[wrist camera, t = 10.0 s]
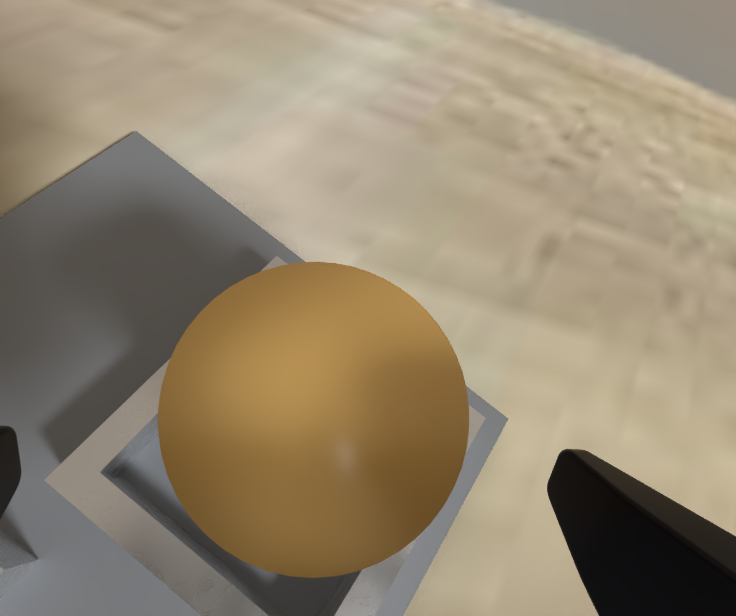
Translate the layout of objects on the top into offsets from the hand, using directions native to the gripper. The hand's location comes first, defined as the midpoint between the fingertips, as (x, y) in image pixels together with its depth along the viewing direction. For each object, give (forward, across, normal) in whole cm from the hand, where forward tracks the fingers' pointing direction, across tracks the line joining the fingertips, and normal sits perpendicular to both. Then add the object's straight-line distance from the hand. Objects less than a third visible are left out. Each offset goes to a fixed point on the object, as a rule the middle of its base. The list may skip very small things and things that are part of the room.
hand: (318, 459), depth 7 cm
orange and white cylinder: (+7, 0, +6) cm, 9 cm away
